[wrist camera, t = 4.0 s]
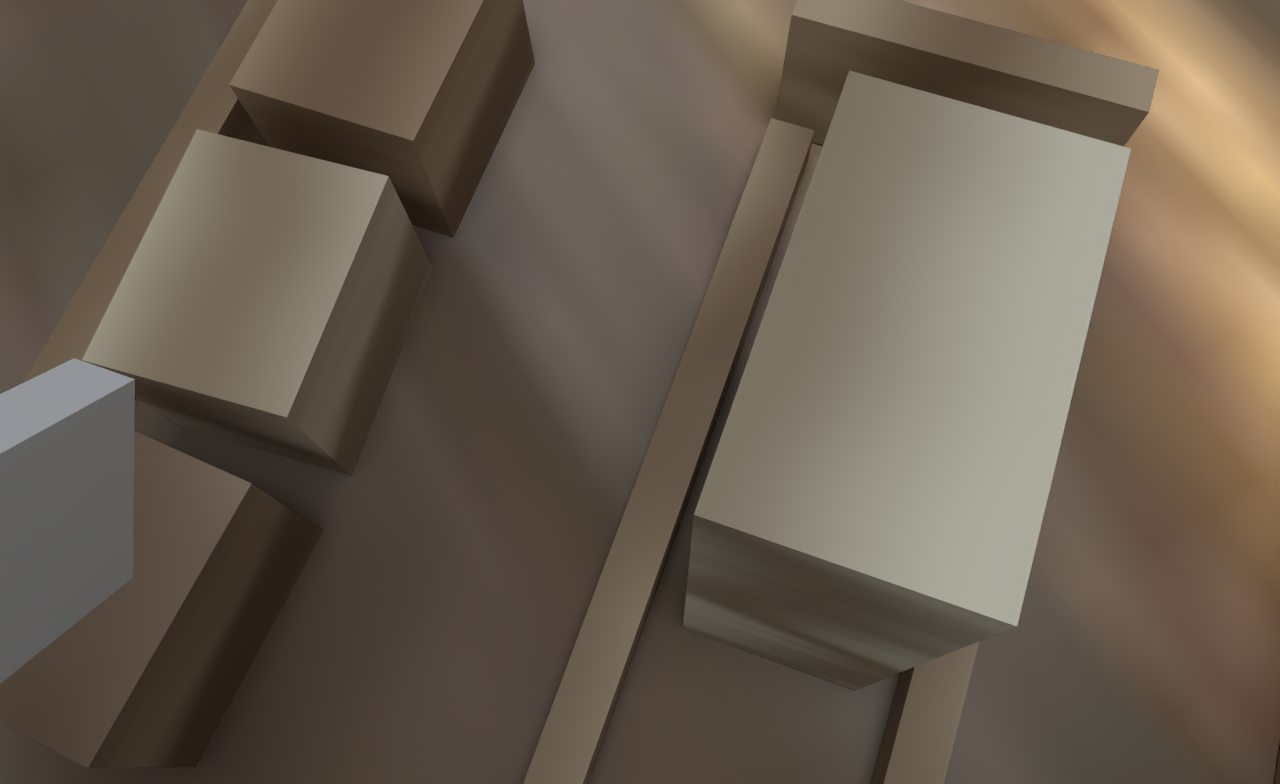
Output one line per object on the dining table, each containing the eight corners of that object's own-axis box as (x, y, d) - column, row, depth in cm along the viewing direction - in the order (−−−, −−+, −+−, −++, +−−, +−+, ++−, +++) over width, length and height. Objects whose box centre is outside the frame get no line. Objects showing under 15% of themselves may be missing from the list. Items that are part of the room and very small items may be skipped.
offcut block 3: (324, 531, 22) (251, 483, 18) (197, 766, 20) (87, 767, 16) (161, 458, 22) (58, 396, 18) (26, 681, 21) (-117, 663, 17)
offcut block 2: (433, 270, 23) (388, 175, 20) (352, 476, 22) (287, 417, 18) (271, 228, 24) (196, 129, 20) (181, 427, 22) (81, 360, 19)
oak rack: (1401, 271, 23) (1593, 142, 18) (1271, 1237, 17) (1502, 1419, 12) (330, -34, 26) (255, -207, 22) (-74, 679, 21) (-295, 656, 16)
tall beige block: (932, 412, 22) (1131, 149, 12) (854, 690, 20) (1017, 626, 11) (773, 361, 22) (849, 70, 13) (682, 628, 21) (694, 514, 11)
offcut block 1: (535, 66, 25) (511, -57, 22) (454, 239, 24) (413, 140, 20) (386, 23, 26) (337, -104, 22) (297, 190, 24) (229, 84, 21)
